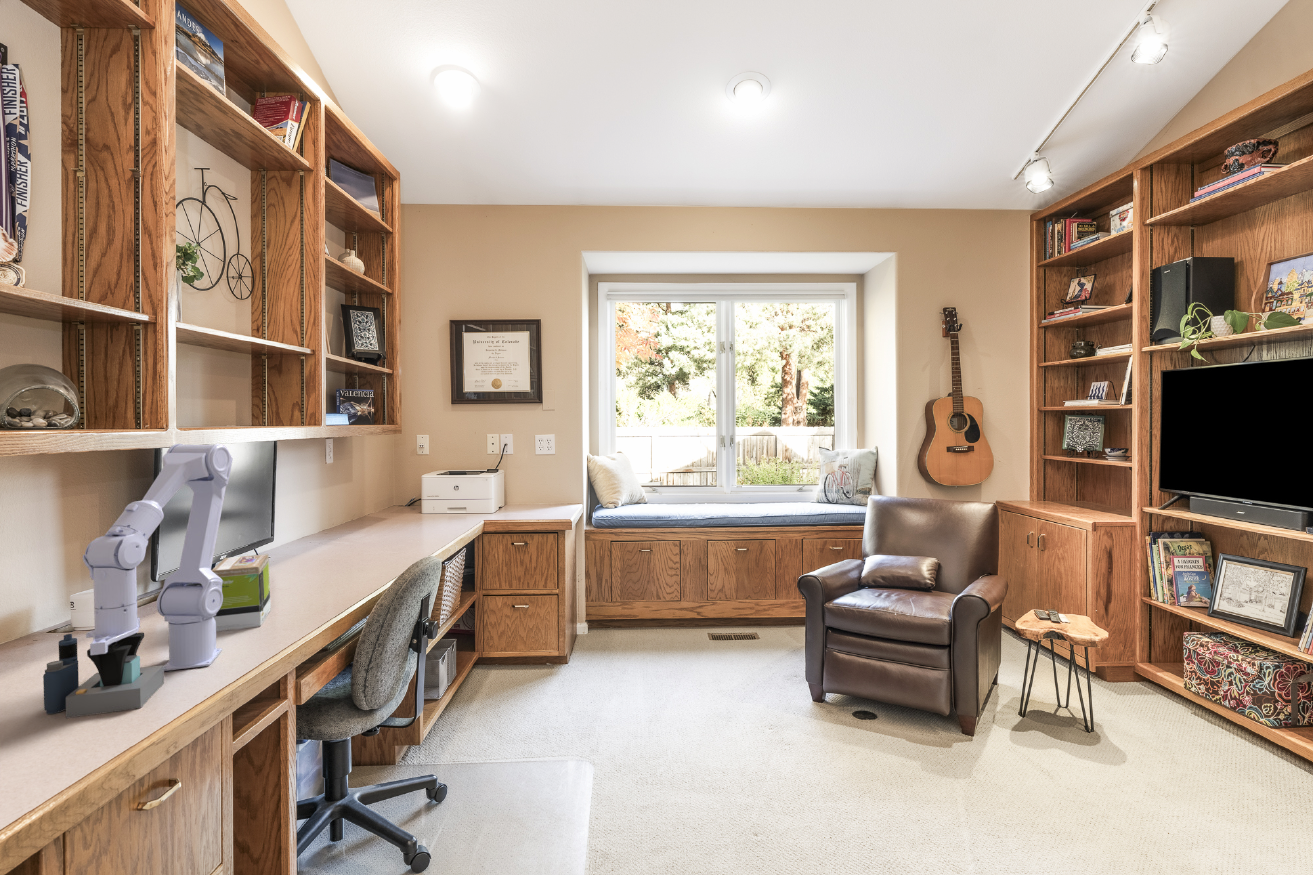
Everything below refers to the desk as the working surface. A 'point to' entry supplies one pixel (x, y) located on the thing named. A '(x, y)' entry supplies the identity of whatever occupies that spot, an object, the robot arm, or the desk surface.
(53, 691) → the vaping device
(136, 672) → the plug
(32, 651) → the desk surface
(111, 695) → the socket
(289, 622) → the desk surface
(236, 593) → the tea box
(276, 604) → the desk surface
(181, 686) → the desk surface
